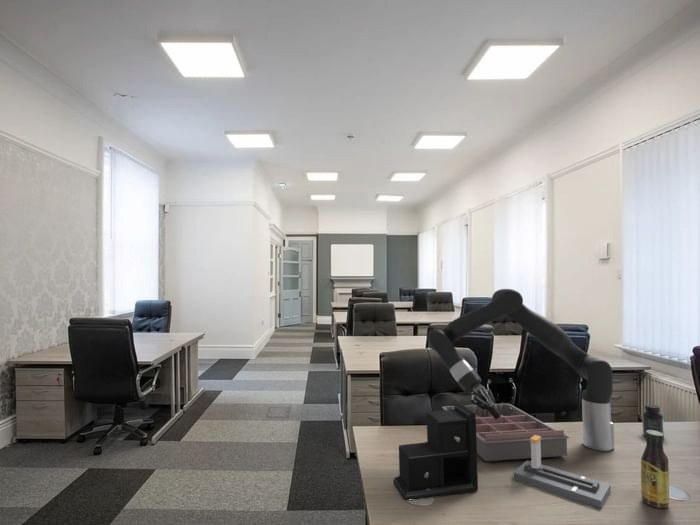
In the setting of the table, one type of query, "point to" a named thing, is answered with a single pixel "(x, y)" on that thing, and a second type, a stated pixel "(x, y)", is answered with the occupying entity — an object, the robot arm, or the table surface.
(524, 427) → the organizer tray
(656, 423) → the supplement bottle
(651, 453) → the sauce bottle
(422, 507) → the table surface
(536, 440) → the fader tab
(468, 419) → the black drawer cabinet
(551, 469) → the grey slider track base
